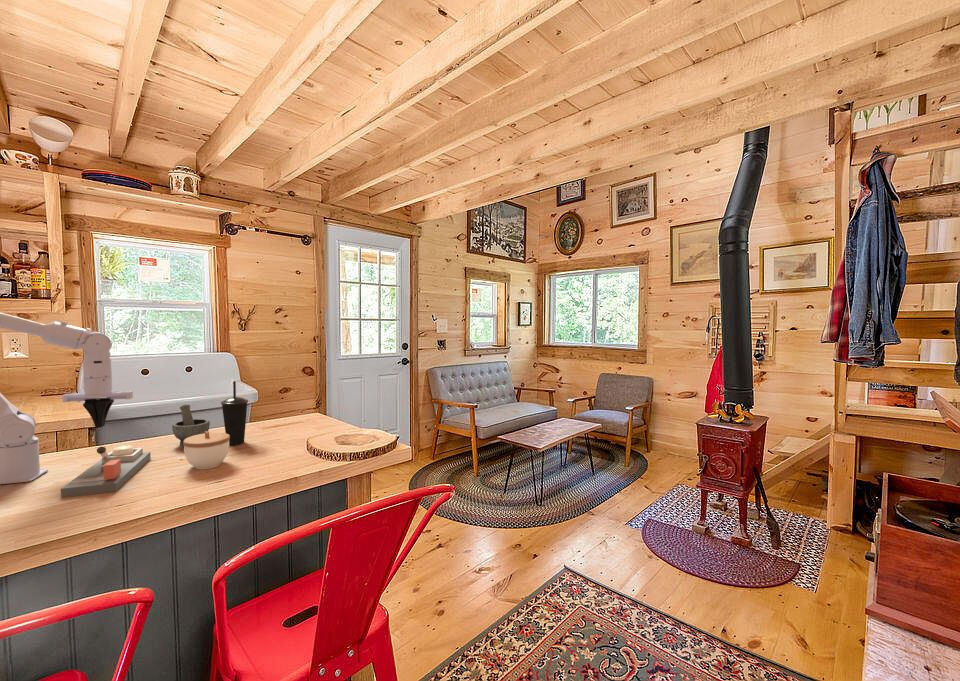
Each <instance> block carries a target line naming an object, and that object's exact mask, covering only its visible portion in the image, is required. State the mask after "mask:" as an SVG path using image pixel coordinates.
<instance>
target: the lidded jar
mask: <svg viewBox="0 0 960 681" xmlns="http://www.w3.org/2000/svg"><path fill="white" fill-rule="evenodd" d="M229 439H230V435H229V434H226V433H225V432H210V431H209V430H208V431H207V432H205V433H204V434H198V435H194V436H191V437H188V438H186V439H185V440H184V441H183V444H184V447H183V449H184V451H183V452H184V456H185V459H186V461H187V462H188V464H190V465H191V466H192V467H193V468H194V469H195V470H208V469H209V470H210V469H215V468H218V467H219V466H220V465H221V463H223V462H224V460H225V459H226V458H227V456H228V453H229V450H230V445H229Z"/></svg>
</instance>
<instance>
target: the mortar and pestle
mask: <svg viewBox="0 0 960 681" xmlns="http://www.w3.org/2000/svg"><path fill="white" fill-rule="evenodd" d="M179 409H180V412H181V419H182V420H180V421H176V422H174V423H172V424H171V428H172V434H173V435H174V437H175V438H176V439H178V440H179V441H180V442H179V446H180V447H182V448H184V444H183V441H184V440H185V439H186V438H188V437H191V436H194V435H198V434H204V433H205V432H207V431H209V430H210V426H211V424H210V423H211V422H210V420H209V419H206V418H194V417H193V415H192V414H193V413H192V412H191V405H190V404H183V405H181V406H179Z"/></svg>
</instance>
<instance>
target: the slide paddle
mask: <svg viewBox="0 0 960 681" xmlns="http://www.w3.org/2000/svg"><path fill="white" fill-rule="evenodd" d="M103 472H104V480H107V479H115V478H116V477H117V476H118V475H119V474H120V473H121V459H118V460H110V461H109V462H107V463H106V464H105V465H103Z"/></svg>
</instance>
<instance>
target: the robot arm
mask: <svg viewBox="0 0 960 681" xmlns="http://www.w3.org/2000/svg"><path fill="white" fill-rule="evenodd" d="M0 329H5V330H9V331H14V332H19V333H20V332H21V333H24V334H30V335H33V336H39V337H40V338H41V339H42V341H43V342H44V343H46V344H50V345H54V346H58V347H63V348H65V349H67V348H68V349H71V350H74V351H77V350H81V349H82V350H83V360H82V374H83V392H76V393H65V394H62V396H61V399H62V403H69V402H83V403H82V406H83V407H84V409H85V410H86V411H87V413H88V414H89V415H90V418H91V419H92V422H93V425H94V427H95V428H103V427H105V426H106V419H107V416H108V413H109V411H110V409H111V407H112V405H113V403H114V402H115V400H131V399H133V398H134V395H133V394H134V393H133V390H113V379H112V376H113V375H112V374H113V373H112V359H111V352H110V350H111V349H112V345H113V343H112V341H111V339H110V337H109V336H107V335H106V334H104V333H102V332H99V331H95V330H94V331H92V328H89V327H86V328H81V327H78V326H74V325H70V324H68V322H67V321H64V320H61V321H60V322H59V321H51V322H49V323H40V322H38V321H33V320H29V319H26V318H22V317H19V316H14V315H11V314H8V313H5V312H4V313H3V312H0ZM35 432H36V419H35V418H34V417H33V416H32V415H30V414H29V413H26V412H22V411H21V410H20V409H19V408H18V407H17V406H16V405H14V404H12V403H11V402H10V401H9V400H8V399H7V398H6V397H5V395H3V393H2V392H0V485H6V484H18V483H19V484H20V483H29V482H32V481H34V480H36V479H37V478H39V477H41V476H42V475H44V474H45V473H47V472H48V471H49V469H48V468H42V469H41V468H40V446H39V445H40V444H39V437H37V436H35V434H36V433H35Z"/></svg>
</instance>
